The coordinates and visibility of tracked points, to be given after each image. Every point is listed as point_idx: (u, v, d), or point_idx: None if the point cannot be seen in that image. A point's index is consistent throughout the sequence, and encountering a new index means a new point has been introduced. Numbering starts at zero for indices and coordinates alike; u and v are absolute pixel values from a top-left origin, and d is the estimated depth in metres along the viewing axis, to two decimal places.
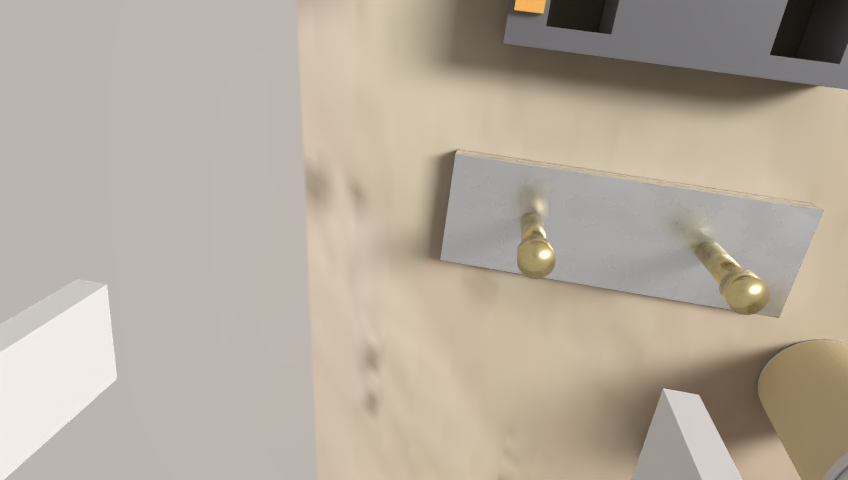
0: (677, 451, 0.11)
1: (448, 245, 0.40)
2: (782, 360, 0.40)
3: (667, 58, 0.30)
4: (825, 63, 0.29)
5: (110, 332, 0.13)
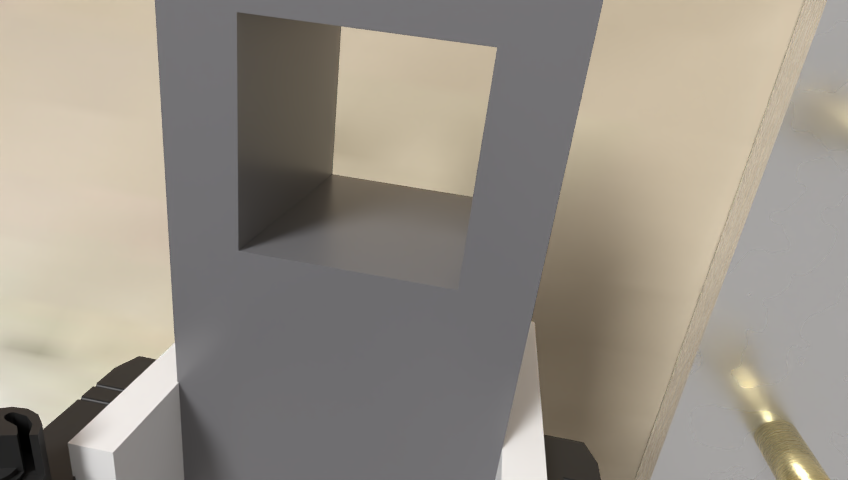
0: None
1: None
2: None
3: None
4: (492, 103, 0.07)
5: None
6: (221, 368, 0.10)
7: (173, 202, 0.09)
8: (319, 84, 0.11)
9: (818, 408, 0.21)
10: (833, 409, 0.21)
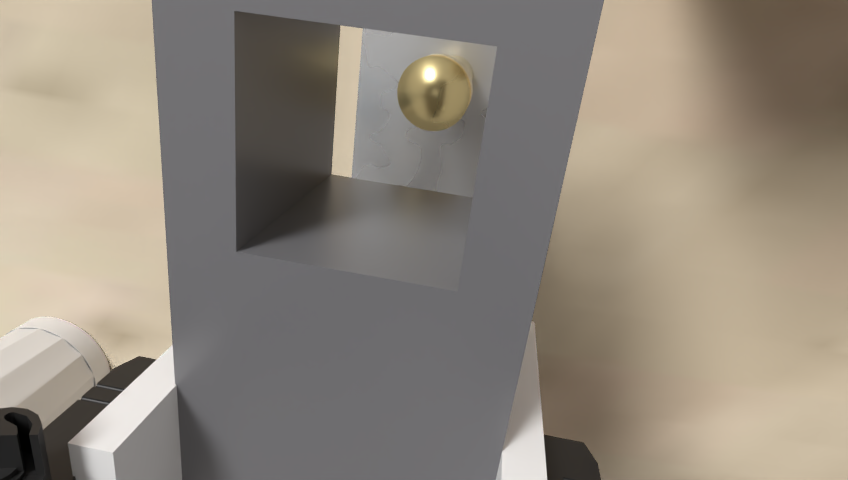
0: None
1: None
2: None
3: None
4: (492, 103, 0.07)
5: None
6: (219, 369, 0.10)
7: (171, 202, 0.09)
8: (318, 83, 0.11)
9: None
10: None
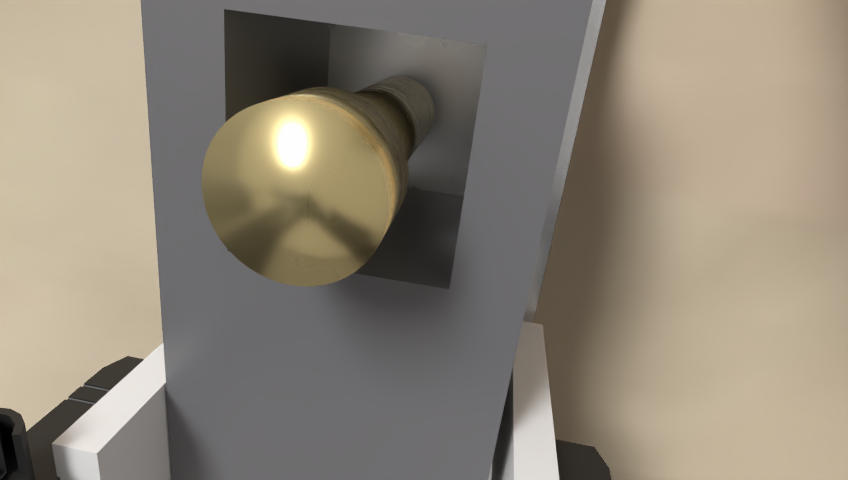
0: None
1: None
2: None
3: None
4: (483, 101, 0.07)
5: None
6: (210, 369, 0.10)
7: (161, 202, 0.09)
8: (309, 82, 0.11)
9: None
10: None
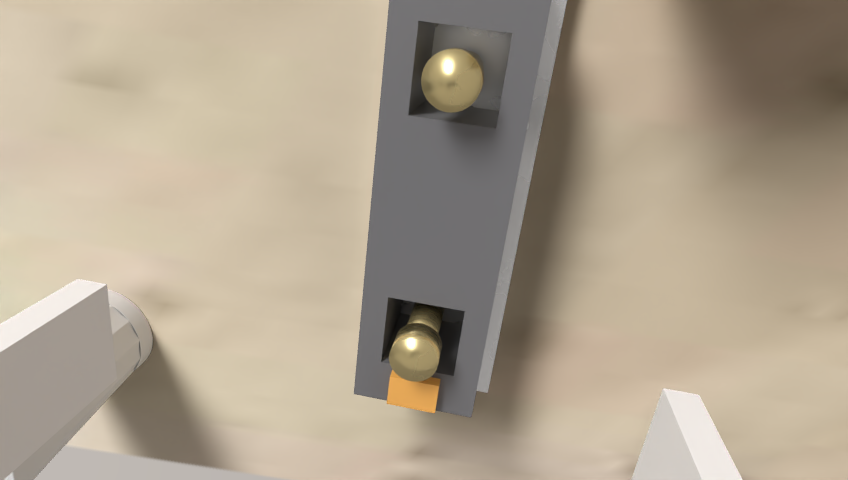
0: (677, 451, 0.11)
1: None
2: None
3: (495, 249, 0.24)
4: (510, 53, 0.21)
5: (110, 332, 0.13)
6: (394, 170, 0.23)
7: (383, 95, 0.22)
8: (428, 52, 0.25)
9: None
10: None
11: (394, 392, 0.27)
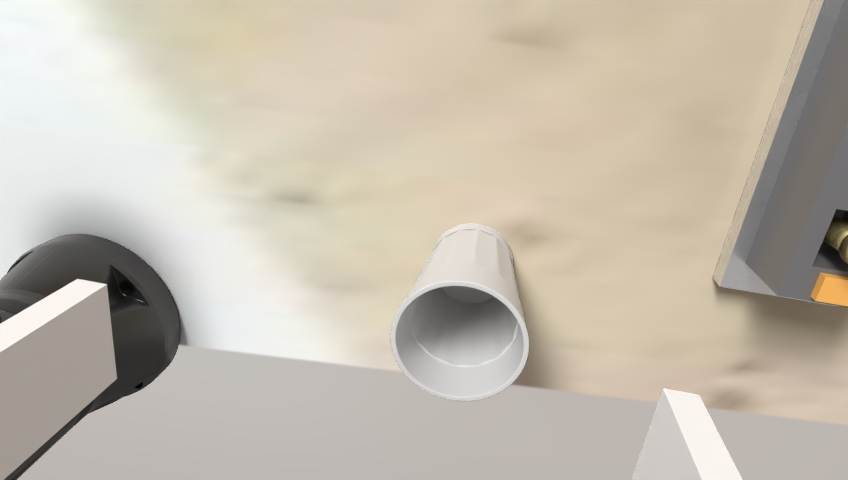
0: (677, 451, 0.11)
1: None
2: None
3: None
4: None
5: (110, 332, 0.13)
6: None
7: None
8: None
9: None
10: None
11: (825, 290, 0.32)
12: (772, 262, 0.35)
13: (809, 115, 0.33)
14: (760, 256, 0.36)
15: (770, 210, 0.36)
